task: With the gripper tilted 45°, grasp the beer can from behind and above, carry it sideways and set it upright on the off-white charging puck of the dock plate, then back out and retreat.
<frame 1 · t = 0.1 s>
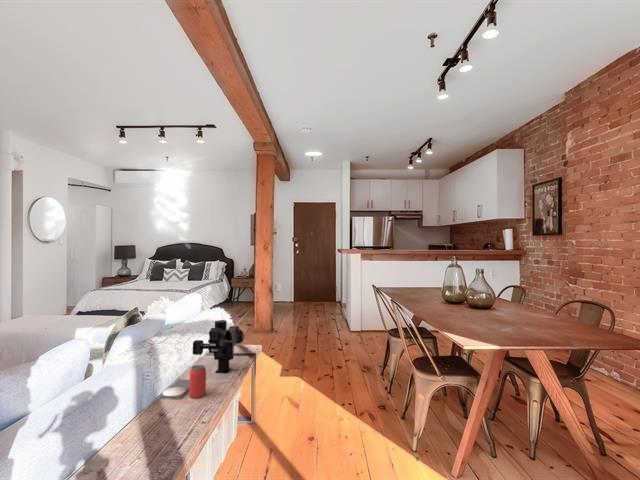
hand: (206, 353, 150), 17 cm above the table, tool horizontal, fingers open, 9 cm apart
beer can: (197, 396, 145), on the table
charging dock: (179, 390, 150), on the table
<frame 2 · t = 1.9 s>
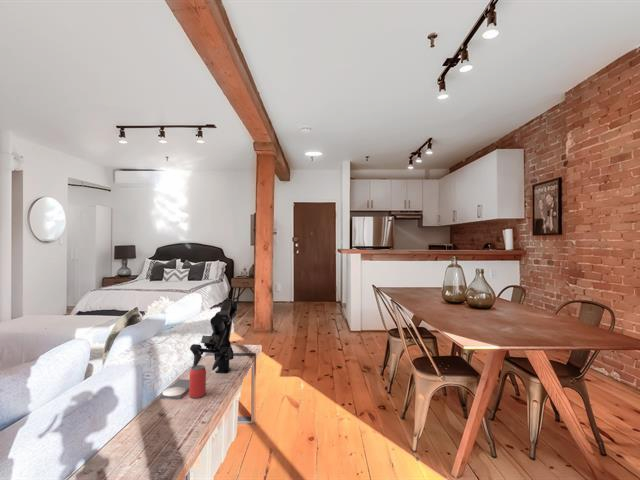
hand: (203, 368, 149), 10 cm above the table, tool tilted 45°, fingers open, 9 cm apart
nothing on the table moved.
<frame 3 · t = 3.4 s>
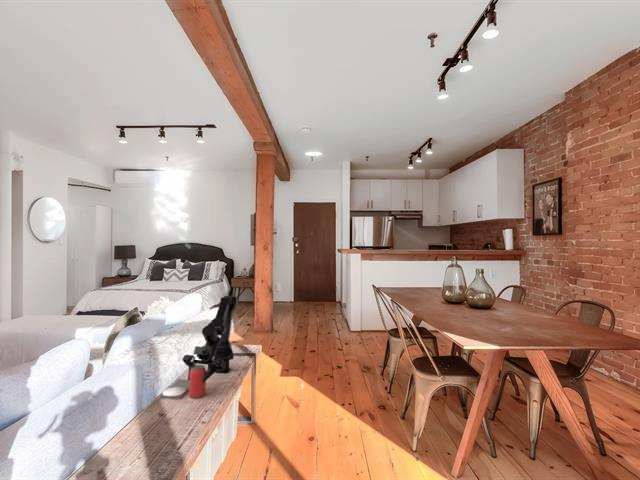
hand: (195, 381, 143), 7 cm above the table, tool tilted 45°, fingers closed on beer can, 7 cm apart
beer can: (197, 395, 145), on the table, touching gripper
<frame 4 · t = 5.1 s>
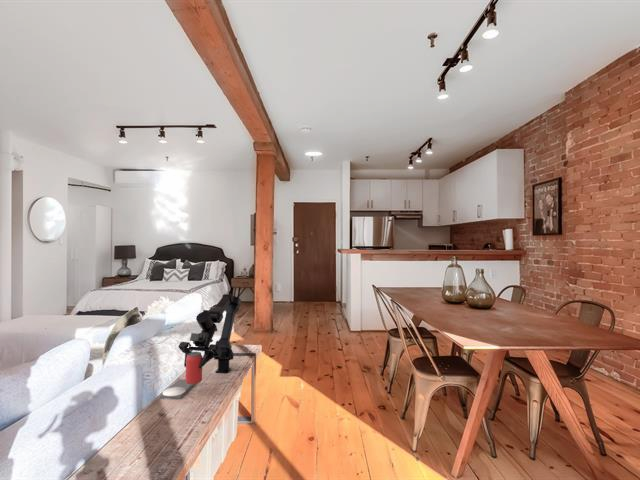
hand: (192, 367, 144), 12 cm above the table, tool tilted 45°, fingers closed on beer can, 7 cm apart
beer can: (193, 382, 145), point 5 cm above the table, touching gripper
when the fingers open (9 cm above the table, at t = 6.8 s): beer can drops 1 cm, resting on charging dock.
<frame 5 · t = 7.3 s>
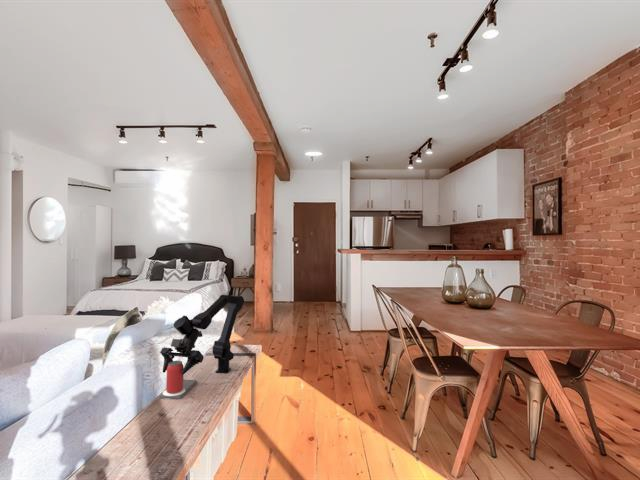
hand: (172, 373, 144), 10 cm above the table, tool tilted 45°, fingers open, 9 cm apart
beer can: (174, 391, 145), point 1 cm above the table, touching charging dock
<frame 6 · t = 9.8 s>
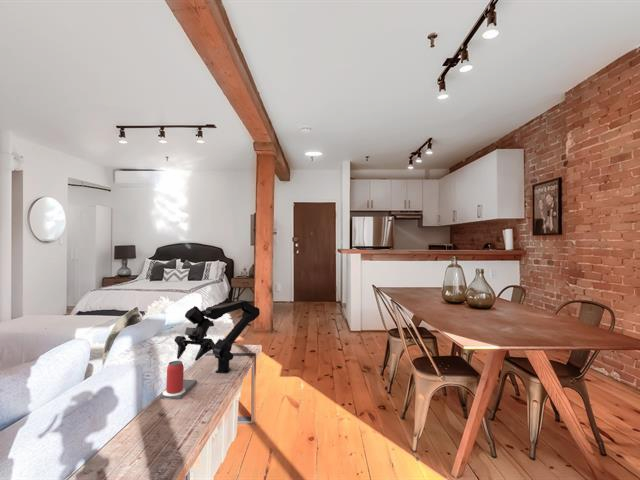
hand: (186, 359, 153), 12 cm above the table, tool tilted 45°, fingers open, 9 cm apart
nothing on the table moved.
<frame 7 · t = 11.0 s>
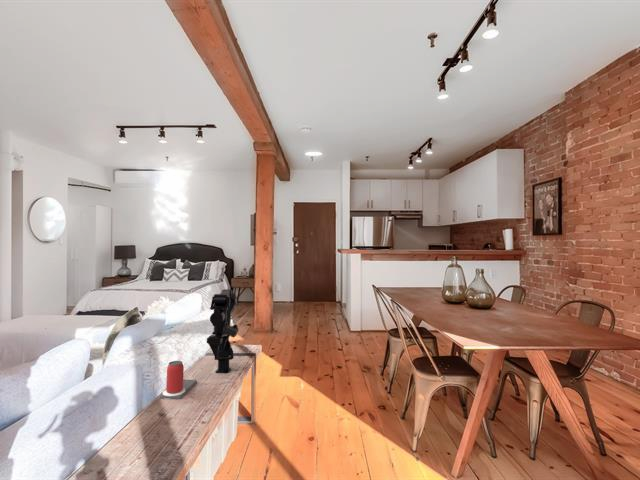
hand: (219, 353, 161), 13 cm above the table, tool pointing down, fingers open, 9 cm apart
nothing on the table moved.
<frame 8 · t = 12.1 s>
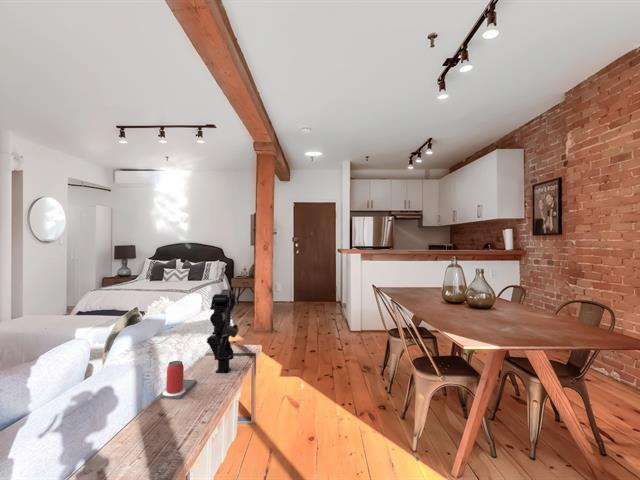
hand: (219, 353, 161), 13 cm above the table, tool pointing down, fingers open, 9 cm apart
nothing on the table moved.
at the end: beer can 0.2 cm from the target spot on the charging dock, point 1.3 cm above the charging dock's base; beer can tilted 0°; the gripper is holding nothing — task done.
